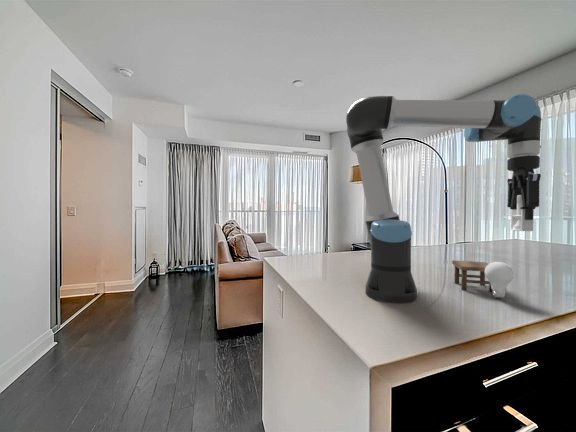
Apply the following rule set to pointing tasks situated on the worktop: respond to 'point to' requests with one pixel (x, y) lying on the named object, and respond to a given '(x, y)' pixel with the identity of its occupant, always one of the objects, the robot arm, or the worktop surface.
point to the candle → (518, 214)
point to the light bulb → (499, 278)
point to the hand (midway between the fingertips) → (521, 229)
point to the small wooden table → (466, 267)
